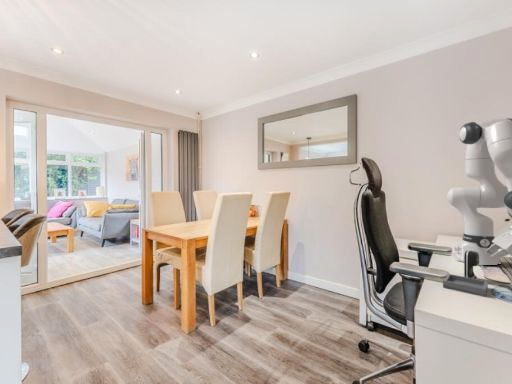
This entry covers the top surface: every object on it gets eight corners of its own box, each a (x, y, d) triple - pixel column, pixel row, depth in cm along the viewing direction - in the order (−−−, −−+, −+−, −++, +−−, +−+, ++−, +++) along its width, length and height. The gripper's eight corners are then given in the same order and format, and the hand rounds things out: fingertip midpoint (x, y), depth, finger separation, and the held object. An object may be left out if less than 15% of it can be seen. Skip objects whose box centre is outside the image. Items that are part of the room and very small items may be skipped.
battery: (476, 282, 98) (476, 253, 98) (463, 280, 101) (464, 251, 101) (479, 278, 102) (479, 251, 102) (467, 276, 105) (467, 249, 105)
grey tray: (448, 279, 100) (448, 273, 100) (487, 287, 92) (487, 281, 92) (443, 287, 92) (443, 280, 92) (485, 296, 84) (485, 289, 84)
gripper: (508, 224, 103) (477, 245, 108) (526, 229, 86) (488, 254, 91) (523, 236, 101) (490, 256, 106) (545, 244, 83) (504, 268, 89)
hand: (489, 255), depth 98 cm, fingers open, 8 cm apart
